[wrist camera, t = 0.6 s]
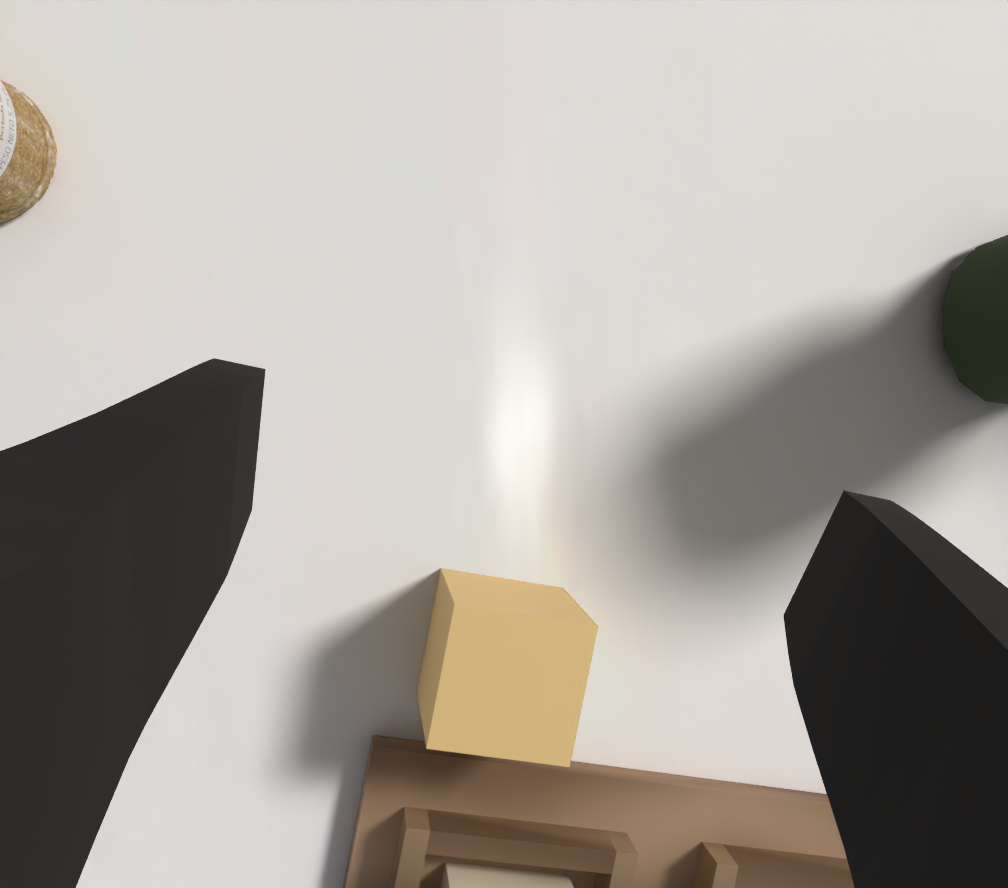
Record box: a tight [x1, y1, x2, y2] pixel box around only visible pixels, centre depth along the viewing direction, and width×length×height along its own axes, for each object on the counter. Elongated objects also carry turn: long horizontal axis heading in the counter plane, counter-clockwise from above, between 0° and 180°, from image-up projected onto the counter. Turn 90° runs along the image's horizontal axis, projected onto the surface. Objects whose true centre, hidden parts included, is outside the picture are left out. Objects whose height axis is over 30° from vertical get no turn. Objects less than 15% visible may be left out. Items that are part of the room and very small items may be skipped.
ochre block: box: [417, 568, 598, 767], centre depth 30 cm, size 4×4×5 cm
